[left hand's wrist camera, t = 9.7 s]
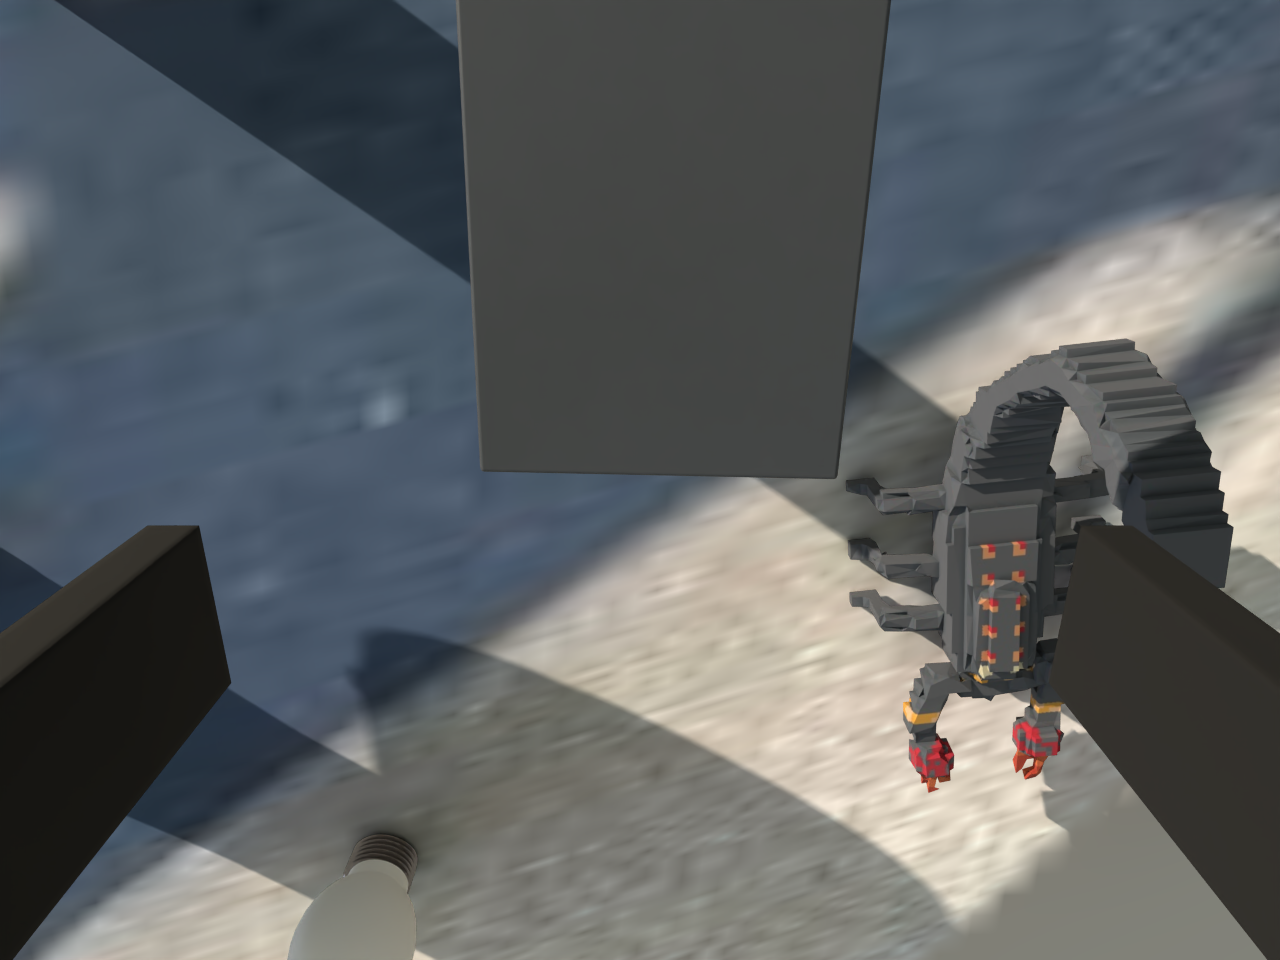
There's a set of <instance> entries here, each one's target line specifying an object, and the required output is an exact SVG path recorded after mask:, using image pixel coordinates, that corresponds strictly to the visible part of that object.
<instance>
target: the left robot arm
mask: <svg viewBox="0 0 1280 960" xmlns="http://www.w3.org/2000/svg"><path fill="white" fill-rule="evenodd" d="M230 684H231V679H230V674H229V669H228V665H227V660H226V655H225V650H224V645H223V640H222V635H221V630H220V626H219V621H218V616H217V611H216V606H215V601H214V596H213V591H212V587H211V582H210V577H209V572H208V567H207V562H206V557H205V552H204V548H203V543H202V538H201V533H200V528H199V526H146V527H145V528H144V529H142V530H141V531H139V532H138V533H137V534H135V535H134V536H133V537H131V538H130V539H129V540H127V541H126V542H124V543H123V544H122V545H120V546H119V547H118V548H116V549H115V550H113V551H112V552H111V553H109V554H108V555H107V556H105V557H104V558H103V559H101V560H100V561H98V562H97V563H96V564H94V565H93V566H92V567H90V568H89V569H88V570H86V571H85V572H83V573H82V574H81V575H79V576H78V577H77V578H75V579H74V580H72V581H71V582H70V583H68V584H67V585H66V586H64V587H63V588H62V589H60V590H59V591H57V592H56V593H55V594H53V595H52V596H51V597H49V598H48V599H46V600H45V601H44V602H42V603H41V604H40V605H38V606H37V607H36V608H34V609H33V610H31V611H30V612H29V613H27V614H26V615H25V616H23V617H22V618H21V619H19V620H18V621H16V622H15V623H14V624H12V625H11V626H10V627H8V628H7V629H5V630H4V631H3V632H1V633H0V960H13V959H14V957H15V956H16V955H17V953H18V952H19V951H20V950H21V948H22V947H23V946H24V945H25V943H26V942H27V941H28V940H29V938H30V937H31V936H32V934H33V933H34V932H35V931H36V929H37V928H38V927H39V926H40V924H41V923H42V922H43V921H44V919H45V918H46V917H47V915H48V914H49V913H50V912H51V910H52V909H53V908H54V907H55V905H56V904H57V903H58V902H59V900H60V899H61V898H62V896H63V895H64V894H65V893H66V891H67V890H68V889H69V888H70V886H71V885H72V884H73V883H74V881H75V880H76V879H77V878H78V876H79V875H80V874H81V872H82V871H83V870H84V869H85V867H86V866H87V865H88V864H89V862H90V861H91V860H92V859H93V857H94V856H95V855H96V853H97V852H98V851H99V850H100V848H101V847H102V846H103V845H104V843H105V842H106V841H107V840H108V838H109V837H110V836H111V834H112V833H113V832H114V831H115V829H116V828H117V827H118V826H119V824H120V823H121V822H122V821H123V819H124V818H125V817H126V815H127V814H128V813H129V812H130V810H131V809H132V808H133V807H134V805H135V804H136V803H137V802H138V800H139V799H140V798H141V796H142V795H143V794H144V793H145V791H146V790H147V789H148V788H149V786H150V785H151V784H152V783H153V781H154V780H155V779H156V777H157V776H158V775H159V774H160V772H161V771H162V770H163V769H164V767H165V766H166V765H167V764H168V762H169V761H170V760H171V758H172V757H173V756H174V755H175V753H176V752H177V751H178V750H179V748H180V747H181V746H182V745H183V743H184V742H185V741H186V740H187V738H188V737H189V736H190V734H191V733H192V732H193V731H194V729H195V728H196V727H197V726H198V724H199V723H200V722H201V721H202V719H203V718H204V717H205V715H206V714H207V713H208V712H209V710H210V709H211V708H212V707H213V705H214V704H215V703H216V702H217V700H218V699H219V698H220V696H221V695H222V694H223V693H224V691H225V690H226V689H227V688H228V686H229V685H230ZM1049 684H1050V685H1051V686H1052V688H1053V689H1054V690H1055V691H1056V693H1057V694H1058V695H1059V696H1060V698H1061V699H1062V700H1063V702H1064V703H1065V704H1066V705H1067V707H1068V708H1069V709H1070V710H1071V712H1072V713H1073V714H1074V715H1075V717H1076V718H1077V719H1078V721H1079V722H1080V723H1081V724H1082V726H1083V727H1084V728H1085V729H1086V731H1087V732H1088V733H1089V734H1090V736H1091V737H1092V738H1093V740H1094V741H1095V742H1096V743H1097V745H1098V746H1099V747H1100V748H1101V750H1102V751H1103V752H1104V753H1105V755H1106V756H1107V757H1108V759H1109V760H1110V761H1111V762H1112V764H1113V765H1114V766H1115V767H1116V769H1117V770H1118V771H1119V772H1120V774H1121V775H1122V776H1123V777H1124V779H1125V780H1126V781H1127V783H1128V784H1129V785H1130V786H1131V788H1132V789H1133V790H1134V791H1135V793H1136V794H1137V795H1138V796H1139V798H1140V799H1141V800H1142V802H1143V803H1144V804H1145V805H1146V807H1147V808H1148V809H1149V810H1150V812H1151V813H1152V814H1153V815H1154V817H1155V818H1156V819H1157V821H1158V822H1159V823H1160V824H1161V826H1162V827H1163V828H1164V829H1165V831H1166V832H1167V833H1168V834H1169V836H1170V837H1171V838H1172V840H1173V841H1174V842H1175V843H1176V845H1177V846H1178V847H1179V848H1180V850H1181V851H1182V852H1183V853H1184V855H1185V856H1186V857H1187V859H1188V860H1189V861H1190V862H1191V864H1192V865H1193V866H1194V867H1195V869H1196V870H1197V871H1198V872H1199V874H1200V875H1201V876H1202V878H1203V879H1204V880H1205V881H1206V883H1207V884H1208V885H1209V886H1210V888H1211V889H1212V890H1213V891H1214V893H1215V894H1216V895H1217V896H1218V898H1219V899H1220V900H1221V902H1222V903H1223V904H1224V905H1225V907H1226V908H1227V909H1228V910H1229V912H1230V913H1231V914H1232V915H1233V917H1234V918H1235V919H1236V921H1237V922H1238V923H1239V924H1240V926H1241V927H1242V928H1243V929H1244V931H1245V932H1246V933H1247V934H1248V936H1249V937H1250V938H1251V940H1252V941H1253V942H1254V943H1255V945H1256V946H1257V947H1258V948H1259V950H1260V951H1261V952H1262V953H1263V955H1264V956H1265V957H1266V959H1267V960H1280V633H1279V632H1277V631H1276V630H1275V629H1273V628H1272V627H1270V626H1269V625H1268V624H1266V623H1265V622H1264V621H1262V620H1261V619H1259V618H1258V617H1257V616H1255V615H1254V614H1253V613H1251V612H1250V611H1249V610H1247V609H1246V608H1244V607H1243V606H1242V605H1240V604H1239V603H1238V602H1236V601H1235V600H1234V599H1232V598H1231V597H1229V596H1228V595H1227V594H1225V593H1224V592H1223V591H1221V590H1220V589H1218V588H1217V587H1216V586H1214V585H1213V584H1212V583H1210V582H1209V581H1208V580H1206V579H1205V578H1203V577H1202V576H1201V575H1199V574H1198V573H1197V572H1195V571H1194V570H1192V569H1191V568H1190V567H1188V566H1187V565H1186V564H1184V563H1183V562H1182V561H1180V560H1179V559H1177V558H1176V557H1175V556H1173V555H1172V554H1171V553H1169V552H1168V551H1167V550H1165V549H1164V548H1162V547H1161V546H1160V545H1158V544H1157V543H1156V542H1154V541H1153V540H1151V539H1150V538H1149V537H1147V536H1146V535H1145V534H1143V533H1142V532H1141V531H1139V530H1138V529H1136V528H1135V527H1134V526H1081V528H1080V533H1079V538H1078V543H1077V548H1076V552H1075V557H1074V562H1073V567H1072V572H1071V577H1070V582H1069V587H1068V591H1067V596H1066V601H1065V606H1064V611H1063V616H1062V621H1061V626H1060V630H1059V635H1058V640H1057V645H1056V650H1055V655H1054V660H1053V665H1052V669H1051V674H1050V679H1049Z"/></svg>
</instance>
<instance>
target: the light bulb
mask: <svg viewBox="0 0 1280 960" xmlns="http://www.w3.org/2000/svg"><path fill="white" fill-rule="evenodd" d="M417 862H418V857H417V854H416V852H415V850H414V849H413V848H412V847H411V845H409V844H408V843H407V842H405V841H403V840H402V839H400V838H397V837H394V836H390V835H372V836H368V837H366V838H363V839H362V840H360V841H359V842H358V843H357V844H356V846H355V848H354V850H353V852H352V855H351V857H350V859H349V861H348V864H347V866H346V869H345V871H344V873H343V878H341V879H339V880H337V881H335V882H334V883H333V884H331V885H330V886H328V887H327V888H326V889H325V890H324V891H323V892H321V893H320V894H319V895H318V897H317V898H316V899H315V900H314V901H313V902H312V904H311V905H310V906H309V907H308V909H307V910H306V912H305V913H304V915H303V917H302V919H301V920H300V922H299V924H298V926H297V928H296V930H295V933H294V935H293V938H292V941H291V944H290V949H289V954H288V959H287V960H412V959H413V956H414V951H415V946H416V926H417V923H416V917H415V912H414V908H413V904H412V902H411V900H410V898H409V896H408V892H409V889H410V886H411V883H412V880H413V877H414V874H415V871H416V867H417Z"/></svg>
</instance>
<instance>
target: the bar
mask: <svg viewBox="0 0 1280 960" xmlns="http://www.w3.org/2000/svg"><path fill="white" fill-rule="evenodd" d="M890 5H891V0H456V12H457V31H458V50H459V70H460V89H461V108H462V127H463V146H464V165H465V184H466V203H467V222H468V241H469V261H470V280H471V299H472V318H473V337H474V356H475V375H476V394H477V413H478V432H479V451H480V468H481V470H482V471H487V472H533V473H579V474H625V475H672V476H718V477H764V478H810V479H835V478H836V477H837V475H838V466H839V457H840V448H841V439H842V430H843V422H844V413H845V404H846V395H847V386H848V377H849V368H850V359H851V351H852V342H853V333H854V324H855V315H856V306H857V297H858V289H859V280H860V271H861V262H862V253H863V244H864V235H865V226H866V218H867V209H868V200H869V191H870V182H871V173H872V164H873V156H874V147H875V138H876V129H877V120H878V111H879V102H880V93H881V85H882V76H883V67H884V58H885V49H886V40H887V31H888V22H889V14H890Z"/></svg>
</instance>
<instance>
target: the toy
mask: <svg viewBox="0 0 1280 960" xmlns="http://www.w3.org/2000/svg"><path fill="white" fill-rule="evenodd" d="M1176 388H1177V385H1176V384H1174V383H1172V382H1169V381H1167V380H1164V379H1162V377H1161V376H1160V375H1159V374H1158V373H1157V367H1156V366H1154V365H1153V364H1152V363H1151V361H1150V359H1149V357H1148V355H1147V354H1145V353H1142V352H1140V351H1137V350H1135V342H1134V341H1131V340H1128V339H1118V340H1109V341H1100V342H1091V343H1082V344H1073V345H1064V346H1059V350H1053V351H1051V354H1044V355H1035V356H1030V357H1029V358H1028V359H1027V360H1023V363H1022V364H1017V367H1013V368H1011V371H1005V376H1002V377H1001V378H1000V379H999V380H995V381H993V383H992V385H991V386H984V387H979V391H978V392H976V402H973V407H971V409H970V412H969V413H968V414H967V415H966V416H960V417H959V420H958V423H957V426H956V430H955V435H954V439H953V445H952V451H951V456H950V458H949V460H948V462H947V464H946V467H945V472H944V477H943V481H942V482H943V484H937V485H930V486H923V487H917V488H894V489H885V488H883V487H882V486H880V485H879V484H878V482H877V481H876V480H875V479H874V478H866V479H857V480H847V481H846V491H849V492H853V493H857V494H860V495H867V496H868V497H869V499H870V500H871V501H872V503H873V504H874V505H875V507H876V508H877V509H878V511H879V512H880V513H881V514H882V515H888V514H896V513H904V512H907V514H908V515H912V514H918V513H925V512H932V511H933V523H932V538H933V541H934V546H933V555H929V554H927V553H924V554H902V555H887V553H886V552H885V553H882V554H881V552H880V550H879V548H878V546H877V544H876V542H875V541H873V540H871V539H870V538H866V539H856V540H848V555H849V557H850V559H851V560H869V561H870V562H872V563H873V564H874V565H875V568H876V570H877V571H878V572H879V573H881V574H882V575H883V576H885V577H886V578H888V579H894V578H906V577H919V576H930V577H932V593H933V595H934V596H935V598H936V599H937V601H938V602H939V604H934V605H926V606H912V605H906V606H889V605H888V604H887V603H886V602H884V601H883V600H882V599H881V597H880V596H879V594H878V592H877V591H876V590H868V591H858V592H849V593H850V603H851V605H852V607H868V608H870V610H871V612H872V613H873V615H874V617H875V619H876V620H877V622H878V624H879V626H880V627H881V628H882V629H883V630H884V631H927V630H938V632H939V634H940V636H941V637H942V645H943V649H944V652H945V654H946V655H947V657H948V658H949V660H950V662H946V663H928V664H925V667H924V668H921V669H920V673H921V678H915V679H914V688H913V691H909V692H910V699H909V702H903V720H904V722H905V725H906V727H907V729H908V731H909V733H910V734H911V733H912V734H913V737H914V740H910V739H909V759H910V761H911V763H912V764H913V766H914V767H915V769H916V771H917V772H918V773H919V774H921V783H925V782H926V783H927V788H928V793H929V792H932V791H935V790H938V789H939V788H935V787H934V786H935V783H936V779H937V778H938V780H939V782H945V781H950V770H952V769H953V768H954V754H953V751H952V749H951V747H950V745H949V743H948V741H947V739H946V738H940V737H939V735H938V734H936V723H937V720H938V718H939V716H940V713H941V711H942V709H943V707H944V705H945V703H946V701H947V699H948V695H949V693H957V694H958V695H959V696H960V697H972V698H986V699H988V700H990V701H991V700H992V699H993V697H994V696H995V695H999V694H1005V693H1011V692H1017V691H1023V690H1027V689H1029V688H1031V700H1030V706H1028V707H1026V708H1025V716H1024V717H1016V721H1015V722H1013V737H1012V740H1013V742H1014V744H1015V745H1016V747H1017V752H1016V754H1015V756H1014V758H1013V763H1014V767H1015V771H1016V773H1017V772H1018V771H1019V770H1020V769H1022V767H1023V765H1024V764H1025V762H1026V760H1027V759H1031V758H1034V762H1033V766H1031V767H1028V768H1025V769H1022V770H1023V774H1024V778H1025V779H1029V778H1033V777H1036V776H1037V775H1038V774H1040V773H1041V770H1042V767H1043V763H1044V761H1045V760H1046V758H1047V757H1048V756H1051V755H1057V752H1059V751H1060V742H1061V740H1062V737H1063V735H1064V733H1063V732H1062V731H1061V730H1060V712H1061V704H1065V703H1064V702H1063V700H1062V699H1061V698H1060V696H1059V695H1058V694H1057V693H1056V691H1055V690H1054V689H1053V688H1052V686H1051V685H1050V684H1049V679H1050V674H1051V669H1052V665H1053V660H1054V655H1055V650H1056V645H1057V640H1058V639H1057V638H1055V639H1048V640H1042V641H1039V642H1038V643H1037V637H1043V625H1044V617H1045V616H1052V615H1059V614H1063V611H1064V606H1065V601H1066V596H1067V591H1068V587H1066V588H1057V589H1054V565H1066V564H1070V563H1072V562H1074V557H1075V552H1076V548H1077V543H1078V538H1079V533H1080V528H1081V526H1105V522H1106V521H1105V520H1104V519H1103V518H1102V517H1101V516H1100V515H1095V516H1085V517H1075V518H1072V520H1071V528H1072V529H1073V530H1074V531H1075V532H1077V533H1078V534H1074V535H1068V536H1062V537H1056V538H1055V527H1056V502H1063V501H1071V500H1078V499H1086V498H1093V497H1099V496H1105V495H1110V498H1111V501H1112V504H1113V505H1115V506H1116V507H1118V509H1119V510H1122V511H1123V513H1122V522H1123V524H1124V526H1134V527H1135V528H1136V529H1138V530H1139V531H1141V532H1142V533H1143V534H1145V535H1146V536H1147V537H1149V538H1150V539H1151V540H1153V541H1154V542H1156V543H1157V544H1158V545H1160V546H1161V547H1162V548H1164V549H1165V550H1167V551H1168V552H1169V553H1171V554H1172V555H1173V556H1175V557H1176V558H1177V559H1179V560H1180V561H1182V562H1183V563H1184V564H1186V565H1187V566H1188V567H1190V568H1191V569H1192V570H1194V571H1195V572H1197V573H1198V574H1199V575H1201V576H1202V577H1203V578H1205V579H1206V580H1208V581H1209V582H1210V583H1212V584H1213V585H1214V586H1216V587H1217V588H1225V581H1226V575H1227V568H1228V561H1229V554H1230V548H1231V541H1232V534H1233V527H1232V526H1231V525H1229V524H1228V523H1227V521H1228V514H1227V513H1225V512H1224V511H1222V509H1223V502H1224V495H1225V493H1224V492H1222V491H1220V490H1219V482H1220V475H1221V471H1219V470H1217V469H1215V468H1213V467H1212V465H1211V463H1210V458H1211V453H1212V452H1211V450H1210V449H1209V447H1208V446H1207V444H1206V443H1205V441H1204V439H1203V437H1202V435H1201V432H1198V431H1197V430H1196V428H1195V424H1196V420H1195V419H1194V418H1193V416H1192V415H1191V413H1190V410H1189V408H1188V405H1187V403H1186V401H1185V398H1184V397H1182V396H1181V395H1180V394H1178V393H1177V392H1176ZM1069 406H1070V407H1071V410H1072V411H1073V412H1074V413H1075V414H1076V416H1077V417H1078V419H1079V422H1080V424H1081V426H1082V427H1083V428H1084V430H1085V431H1086V432H1087V433H1088V437H1089V440H1090V444H1091V450H1092V455H1087V456H1082V460H1081V466H1080V467H1078V468H1080V469H1081V473H1082V475H1080V476H1074V477H1069V478H1060V479H1055V477H1056V473H1055V471H1054V470H1053V468H1052V467H1051V466H1050V465H1049V464H1050V461H1051V457H1052V453H1053V451H1054V445H1055V441H1056V436H1057V433H1058V430H1059V426H1060V423H1061V418H1062V414H1063V410H1064V407H1069ZM1071 572H1072V568H1071ZM1036 643H1037V644H1036Z"/></svg>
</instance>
